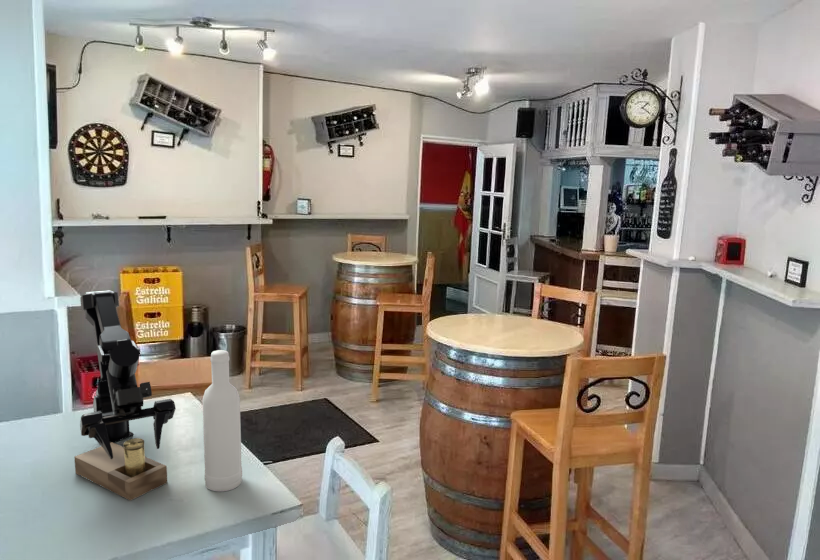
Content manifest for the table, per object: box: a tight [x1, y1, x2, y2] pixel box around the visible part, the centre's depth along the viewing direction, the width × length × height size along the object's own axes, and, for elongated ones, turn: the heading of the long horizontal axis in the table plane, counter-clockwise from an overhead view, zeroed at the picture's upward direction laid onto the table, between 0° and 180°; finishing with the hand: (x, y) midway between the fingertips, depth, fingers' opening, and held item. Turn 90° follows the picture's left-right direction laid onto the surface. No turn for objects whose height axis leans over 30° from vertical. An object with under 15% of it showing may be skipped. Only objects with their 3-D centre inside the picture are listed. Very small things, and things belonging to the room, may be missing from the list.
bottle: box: [201, 349, 243, 492], centre depth 136 cm, size 8×8×30 cm
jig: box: [73, 442, 168, 501], centre depth 139 cm, size 9×20×4 cm, turn 58°
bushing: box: [122, 437, 146, 478], centre depth 136 cm, size 4×4×10 cm
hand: (135, 453), depth 134 cm, fingers open, 9 cm apart
